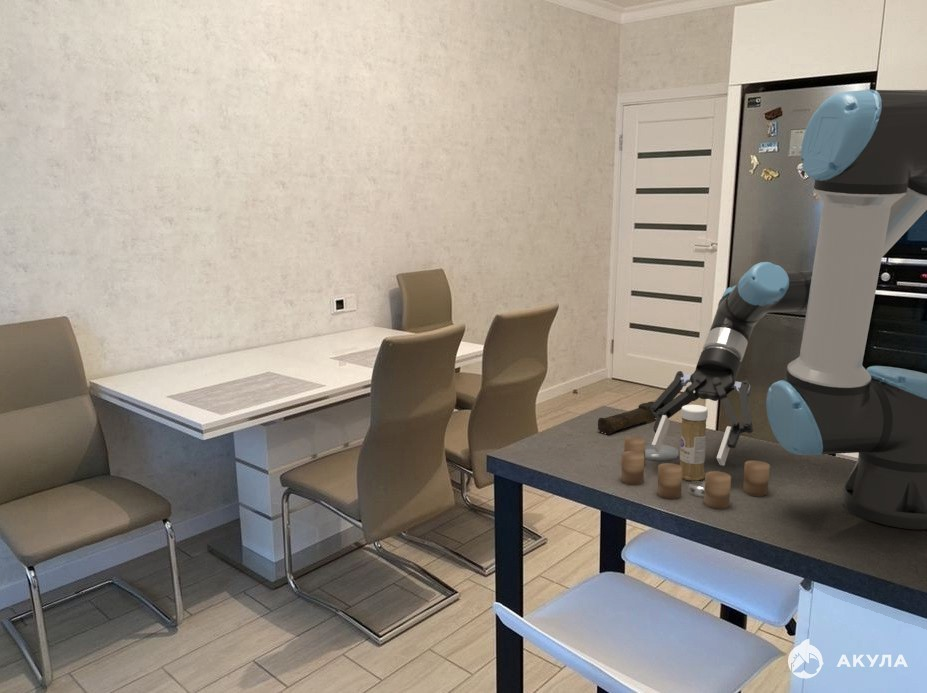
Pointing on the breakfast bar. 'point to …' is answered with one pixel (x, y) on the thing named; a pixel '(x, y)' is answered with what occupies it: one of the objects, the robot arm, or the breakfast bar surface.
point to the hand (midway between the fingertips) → (686, 455)
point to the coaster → (660, 453)
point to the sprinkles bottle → (693, 441)
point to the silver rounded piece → (697, 488)
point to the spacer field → (672, 476)
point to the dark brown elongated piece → (627, 419)
